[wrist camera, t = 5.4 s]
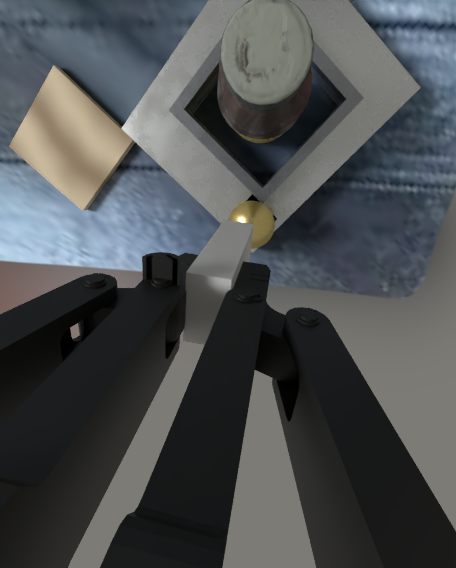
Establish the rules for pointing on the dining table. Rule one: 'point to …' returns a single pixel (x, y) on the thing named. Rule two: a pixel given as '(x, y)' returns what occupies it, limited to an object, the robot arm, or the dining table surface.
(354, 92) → the housing
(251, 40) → the sauce bottle
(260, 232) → the plunger
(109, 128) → the cork pad
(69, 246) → the dining table surface
